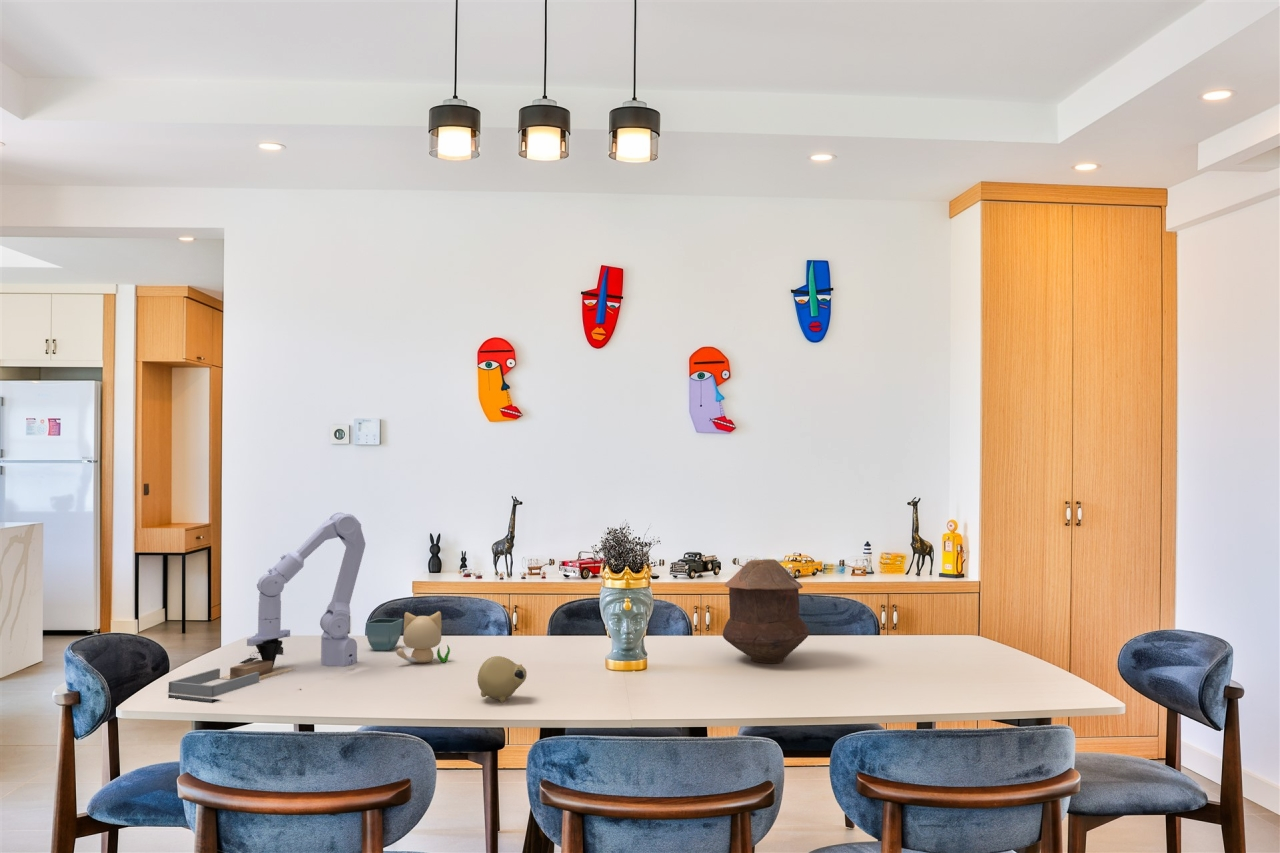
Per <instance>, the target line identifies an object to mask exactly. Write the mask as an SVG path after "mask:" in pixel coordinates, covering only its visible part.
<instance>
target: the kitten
mask: <svg viewBox="0 0 1280 853" xmlns="http://www.w3.org/2000/svg"><path fill="white" fill-rule="evenodd" d="M403 616H404V618H403V622H404V623H403V635H402V636H403V638H402V641H403V644H404V645H405V647H408V648H410V649H413V651H412V653H411V656H410V655H407V654H406V652H405V651H404V649H403V648H398V649H397V650H396V654H397V656H398V657H399V658H401V659H403V660H405V661H407V662H410V663H416V664H426V663H430V662H432V661H433V660H434V658H435V656H434V651H433V649H432V648H435V647H437V646H440V644H441V641H442V612H441V611H439V610H438V611H436V612H435V613H434V614H431V615H429V616H428V615H418V616H416V615H414V614H412V613H410V612H408V611H406V612H404V615H403ZM446 646H447V652H446V653H445V655H444V657H443V656H442V655H441V650H440V649H441V648H440V647H438V648H437V652H436V656H437V658H438V659H439V663H440V662H445V661H448V662H449V656H450V653H451V649H450V646H449V644H447V645H446ZM445 663H446V662H445Z"/></svg>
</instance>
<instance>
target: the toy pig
mask: <svg viewBox="0 0 1280 853" xmlns="http://www.w3.org/2000/svg"><path fill="white" fill-rule="evenodd" d="M476 679H477V680H476V681H477V685H478V688H479V689H480V696H481V697H482V698H486V697H489V698H492V699H495V700H499V701H500V703H504V702H505V701H506V700H507V698H509V697H511V696H512V695H513V694H514V693H515V692H516V690H517V689H518V688H519V687H521V685H523V684H524V682H525V681H526V679H527V669H526V668H525V667H524V666H523V664H521V663H520V664H517V663H516V662H514V661H512V660H511V659H509V658H507V657H505V656H500V655H499V656H498V655H496V656H491V657H488V658H487V659H485V661H484V662H482V664H481V666H480V667H479V669H478V673H477V678H476Z"/></svg>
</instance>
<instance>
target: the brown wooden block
mask: <svg viewBox="0 0 1280 853" xmlns="http://www.w3.org/2000/svg"><path fill="white" fill-rule="evenodd" d="M245 664H254V665H259V676H262V675H265V674H268V673H272V672H273V667H274V666H273V661H266V660H262V659H256V660H254V661H252V662H248V663H245Z"/></svg>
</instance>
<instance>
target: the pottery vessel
mask: <svg viewBox="0 0 1280 853" xmlns="http://www.w3.org/2000/svg"><path fill="white" fill-rule="evenodd" d="M724 587H726V588H729V589H728V590H729V591H728V597H729V598H728V599H729V603H728V604H729V605H728V606H729V618H728V619H727V621H726V623H725V625H724V627H723V630H722V637H723V639H724V640H725V641H726V642H727V643H729V644H730V645H732V646H733V647H735V649H737V650H739V652H742V653H743V654H745V656H747V657H749V658H750V659H751V661H753V662H755V663H762V664H781V663H783V662H784V661H785V659H786V658H787V656H788V655H789V654H790V653H792V652H793V651H794V650H795V649H797V648H798V646H800V645H801V644H802V643H803V642H804V641H805V640H806V639H807V638H808V636H809V635H810V631H809V628H808V626H807V625H806V623H805V622H804V621H803V620H802V618H801V617H800V598H799V597H800V596H799V595H800V594H799V590H800V589H803V588H804V587H803V585H802V584H801V583H800V582H799V581H798V580H797V579H795V577H793V575H792V574H791V573H790V572H789V571H788V570H787V569H786V568H785V567H784V566H783V565H782V564H780V562H778V561H777V560H776V559H770V558H767V559H755V560H754V559H752V560H749V561H747V562H746V564H744V565H743V566H742V567H741V568H740V569H739V570H738V571H737V572H736V573H735V574H734V575H733V576H731V578H730V579H729V580H728V581H726V582H725V583H724Z"/></svg>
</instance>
